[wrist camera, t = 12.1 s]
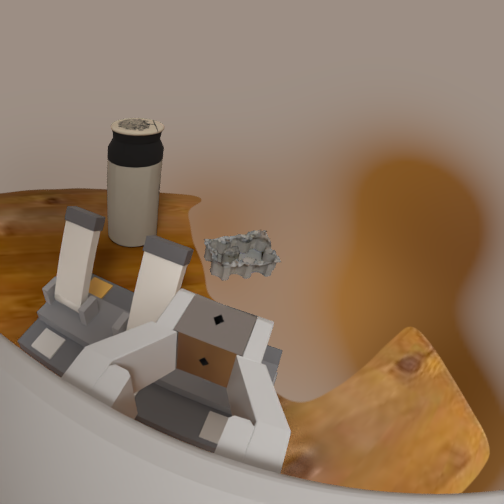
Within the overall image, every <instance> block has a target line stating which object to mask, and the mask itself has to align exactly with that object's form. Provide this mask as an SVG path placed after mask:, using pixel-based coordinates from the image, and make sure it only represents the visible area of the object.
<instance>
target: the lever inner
mask: <svg viewBox="0 0 504 504" xmlns="http://www.w3.org/2000/svg"><path fill="white" fill-rule="evenodd" d="M65 220H66V224H65V229H64V234H63V240H62V245H61V251H60V257H59V264H58V271H57V278H56V286H55V296H54V297H55V300H57V301H59V302H60V303H62V304H64V305H65V306H67V307H69V308H71V309H72V310H74V311H76V312H78V309H79V308H80V307H81V305H82V304H83V303H84V302H85V301H86V300H87V299H88V293H89V287H90V281H91V275H92V269H93V264H94V259H95V254H96V249H97V244H98V240H99V235H100V231H102V230H103V226H104V221H105V217H103V216H101V215H98V214H95V213H93V212H90V211H87V210H85V209H82V208H79V207H77V206H67V210H66V215H65ZM78 313H79V312H78Z"/></svg>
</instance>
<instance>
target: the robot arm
mask: <svg viewBox="0 0 504 504" xmlns="http://www.w3.org/2000/svg"><path fill="white" fill-rule="evenodd" d="M257 317H258V316H255V315H253V314H250V313H247V312H244V311H241V310H238V309H235V308H232V307H229V306H226V305H223V304H221V303H218V302H216V301H213V300H211V299H208V298H206V297H203V296H201V295H198V294H195V293H192V292H190V291H187V290H185V289H183V288H182V289H180V290H179V291H178V292H177V293H176V295H175V296H174V297H173V299H172V300H171V302H170V303H169V304H168V306H167V307H166V309H165V310H164V312H163V313H162V314H161V316H160V317H159V319H158V320H157V322H156V323H155V322H153V321H150V322H148V323H145V324H142V325H140V326H137V327H135V328H132V329H130V330H127V331H125V332H122V333H119V334H117V335H114V336H112V337H109V338H106V339H104V340H101V341H99V342H96V343H93V344H91V345H88V346H85V348H84V349H83V350H82V351H81V353H80V354H79V355H78V356H77V358H76V359H75V360H74V362H73V363H72V364H71V365H70V367H69V368H68V369H67V371H66V372H65V373H64V374H63V376H62V377H59V376H58V375H56V374H55V373H53V372H52V371H50V370H49V369H47V368H46V367H45V366H43V365H42V364H40V363H39V362H37V361H36V360H35V359H33V358H32V357H31V356H29V355H28V354H26V353H25V352H24V351H22V350H21V349H20V348H19V347H17V346H16V345H15V344H13V343H12V342H11V341H10V340H8V339H7V338H6V337H5V336H3V335H2V334H1V333H0V504H504V490H499V491H490V492H479V493H460V494H414V493H396V492H384V491H373V490H365V489H357V488H350V487H343V486H337V485H331V484H325V483H320V482H315V481H310V480H305V479H301V478H296V477H292V476H288V475H283V474H280V472H281V468H282V465H283V461H284V457H285V453H286V450H287V446H288V442H289V438H290V434H291V431H290V428H289V425H288V423H287V420H286V418H285V415H284V412H283V410H282V407H281V404H280V402H279V399H278V396H277V394H276V391H275V388H274V386H273V383H272V380H271V377H270V375H269V372H268V369H267V367H266V365H265V364H262V363H261V362H262V359H263V356H264V353H265V350H266V347H267V344H268V341H269V338H270V335H271V332H272V329H273V325H274V322H273V321H270V320H268V319H265V318H262V317H258V318H257ZM175 368H177V369H180V370H182V371H185V372H187V373H190V374H193V375H195V376H198V377H201V378H203V379H205V380H208V381H210V382H213V383H215V384H218V385H220V386H223V387H225V388H227V389H226V390H227V395H228V399H229V404H230V409H231V413H232V417H229V418H228V421H227V423H226V425H225V428H224V430H223V433H222V435H221V438H220V440H219V442H218V445H217V447H216V450H215V452H214V453H211V452H209V451H206V450H203V449H201V448H198V447H195V446H193V445H190V444H188V443H185V442H183V441H180V440H178V439H176V438H173V437H171V436H169V435H166V434H164V433H162V432H160V431H157V430H155V429H153V428H151V427H149V426H147V425H144V424H142V423H140V422H138V421H136V420H134V419H135V418H136V416H137V414H138V412H137V407H136V403H135V398H134V393H135V392H137V391H139V390H141V389H143V388H144V387H146V386H148V385H150V384H151V383H153V382H155V381H157V380H158V379H160V378H162V377H163V376H165V375H167V374H169V373H170V372H172V371H174V370H175Z"/></svg>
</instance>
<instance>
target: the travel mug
mask: <svg viewBox="0 0 504 504" xmlns="http://www.w3.org/2000/svg"><path fill="white" fill-rule="evenodd" d="M111 129H112V131H113V139H112V141H111V142H110V144H109V146H108V165H107V166H108V167H107V206H108V234H109V237H110V239H111V240H112V241H113V242H115V243H117V244H119V245H122V246H128V247H136V246H142V245H144V244H145V240H146V236H150V235H155V236H156V233H157V216H158V202H159V189H160V178H161V168H162V159H163V149H164V147H163V145H162V142H161V140H160V136H161V132H162V131H163V130H164V125H163V124H162V123H161V122H158V121H155V120H151V119H143V118H128V119H122V120H118V121H115V122H113V123H112V124H111Z"/></svg>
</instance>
